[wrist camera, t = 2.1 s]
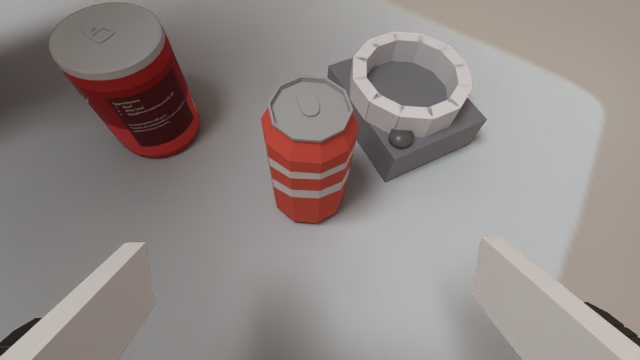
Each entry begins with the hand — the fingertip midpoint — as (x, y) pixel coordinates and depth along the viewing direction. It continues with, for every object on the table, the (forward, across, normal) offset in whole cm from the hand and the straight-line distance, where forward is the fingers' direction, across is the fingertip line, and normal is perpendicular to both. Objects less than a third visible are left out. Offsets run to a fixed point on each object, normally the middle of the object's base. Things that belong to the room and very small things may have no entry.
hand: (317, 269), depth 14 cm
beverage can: (+18, 0, -3) cm, 18 cm away
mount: (+24, +9, +3) cm, 26 cm away
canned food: (+23, -15, +2) cm, 28 cm away
